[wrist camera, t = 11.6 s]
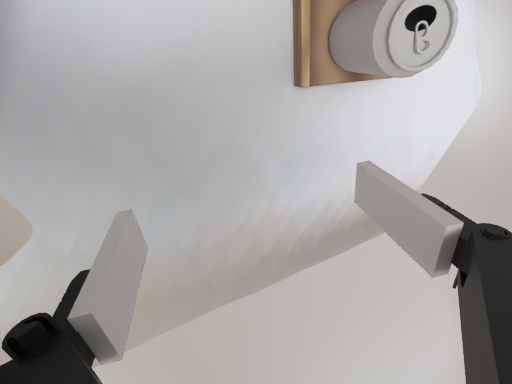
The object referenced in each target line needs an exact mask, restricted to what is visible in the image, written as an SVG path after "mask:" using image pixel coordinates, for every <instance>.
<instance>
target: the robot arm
mask: <svg viewBox="0 0 512 384" xmlns="http://www.w3.org/2000/svg"><path fill="white" fill-rule="evenodd" d="M355 203H356V204H357V205H358V206H359V207H360V208H361V209H362V210H363V211H364V212H365V213H366V214H367V215H368V216H369V217H370V218H371V219H372V220H373V221H374V222H375V223H376V224H378V225H379V226H380V227H381V228H382V229H383V230H384V231H385V232H386V233H387V234H388V235H389V236H390V237H391V238H392V239H393V240H394V241H395V242H396V243H397V244H398V245H399V246H400V247H401V248H402V249H403V250H404V251H405V252H406V253H407V254H408V255H409V256H410V257H412V258H413V259H414V260H415V261H416V262H417V263H418V264H419V265H420V266H421V267H422V268H423V269H424V270H425V271H426V272H427V273H428V274H429V275H430V276H431V277H432V278H434V277H437V276H441V275H445V274H448V272H449V269H450V266H451V263H452V264H453V265H455V266H456V267H457V268H458V273H457V276H456V278H455V281H454V284H453V288H456V286H457V285H458V296H459V307H460V319H461V330H462V341H463V353H464V364H465V376H466V384H512V233H511V232H510V231H508V230H507V229H505V228H502V227H500V226H498V225H493V224H487V223H481V224H477V223H475V222H473V221H472V220H470V219H469V218H467V217H465V216H464V215H462V214H461V213H459V212H457V211H456V210H454V209H451V207H449V206H448V205H446V204H444V203H443V202H441V201H440V200H438V199H437V198H435V197H432V196H429V195H427V194H419V193H418V192H416V191H415V190H413V189H411V188H410V187H408V186H407V185H405V184H404V183H402V182H401V181H399V180H398V179H396V178H395V177H393V176H392V175H390V174H388V173H387V172H385V171H384V170H382V169H381V168H379V167H378V166H376V165H375V164H373V163H372V162H370V161H365V162H360V163H357V172H356V188H355ZM147 251H148V246H147V244H146V242H145V239H144V237H143V235H142V232H141V230H140V227H139V225H138V223H137V220H136V218H135V215H134V213H133V211H132V209H131V210H126V211H121V212H117V214H116V216H115V218H114V221H113V223H112V225H111V227H110V229H109V231H108V233H107V235H106V238H105V240H104V242H103V244H102V246H101V248H100V250H99V252H98V255H97V257H96V259H95V261H94V263H93V265H92V267H91V269H89V270H84V271H81V272H80V273H79V274H78V275H77V276H76V277H75V278H74V279H73V280H72V281H71V283H70V285H69V286H68V288H67V290H66V293H65V294H64V296H63V298H62V301H61V302H60V303H59V305H58V307H57V309H56V311H55V313H54V315H53V317H51V315H49V314H47V313H38V314H35V315H32V316H30V317H28V318H26V319H24V320H22V321H21V322H19V323H18V324H17V325H16V326H14V327H13V328H12V329H11V330H10V331H9V332H8V334H7V335H6V336H5V338H4V340H3V342H2V349H3V350H4V351H5V352H6V353H7V354H8V355H9V356H10V357H11V358H12V359H13V360H11V361H9V362H7V363H5V364H3V365H1V366H0V384H102V382H101V381H100V379H99V378H98V377H97V375H96V374H95V372H94V371H93V370H92V368H91V367H92V364H93V361H94V358H95V357H96V359H97V360H98V362H99V363H100V364H101V365H104V364H108V363H111V362H115V361H119V360H122V358H123V353H124V349H125V345H126V341H127V336H128V332H129V328H130V323H131V319H132V315H133V311H134V306H135V302H136V298H137V293H138V289H139V285H140V281H141V276H142V272H143V268H144V263H145V259H146V255H147Z"/></svg>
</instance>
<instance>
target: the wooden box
mask: <svg viewBox="0 0 512 384" xmlns="http://www.w3.org/2000/svg"><path fill="white" fill-rule="evenodd" d="M355 1H357V0H293V29H294V85H296V86H298V87H301V88H304V87H310V86H319V85H328V84H337V83H346V82H355V81H364V80H374V79H383V78H392V77H388V76H380V75H372V74H365V73H357V72H351V71H347V70H344V69H342V68H341V67H340V66H338V65H337V64H336V62H335V61H334V59H333V57H332V55H331V51H330V47H329V42H330V32H331V29H332V26H333V23H334V21H335V20H336V18H337V16H338V14H339V13H340V12H341V11H342V10H343V9H344V8H345V7H346V6H347V5H349V4H351V3H353V2H355Z"/></svg>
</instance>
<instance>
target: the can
mask: <svg viewBox="0 0 512 384" xmlns="http://www.w3.org/2000/svg"><path fill="white" fill-rule="evenodd" d="M457 22H458V17H457V7H456V4H455V1H454V0H357V1H355V2H353V3H351V4H349V5H347V6H346V7H345V8H344V9H343V10H342V11H341V12H340V13H339V14H338V16H337V18H336V20H335V21H334V23H333V26H332V29H331V32H330V42H329V47H330V51H331V55H332V57H333V59H334V61H335V62H336V64H337V65H338V66H340V67H341V68H342V69H344V70H347V71H351V72H357V73H365V74H372V75H380V76H388V77H395V78H404V77H411V76H413V75H415V74H417V73H419V72H421V71H423V70H424V69H426V68H428V67H430V66H432V65H433V64H434V63H435V62H437V61H438V60H439V59H440V58H441V57H442V56H443V54H444V53H445V52H446V50H447V49H448V48H449V46H450V44H451V42H452V39H453V37H454V35H455V31H456V27H457Z"/></svg>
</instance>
